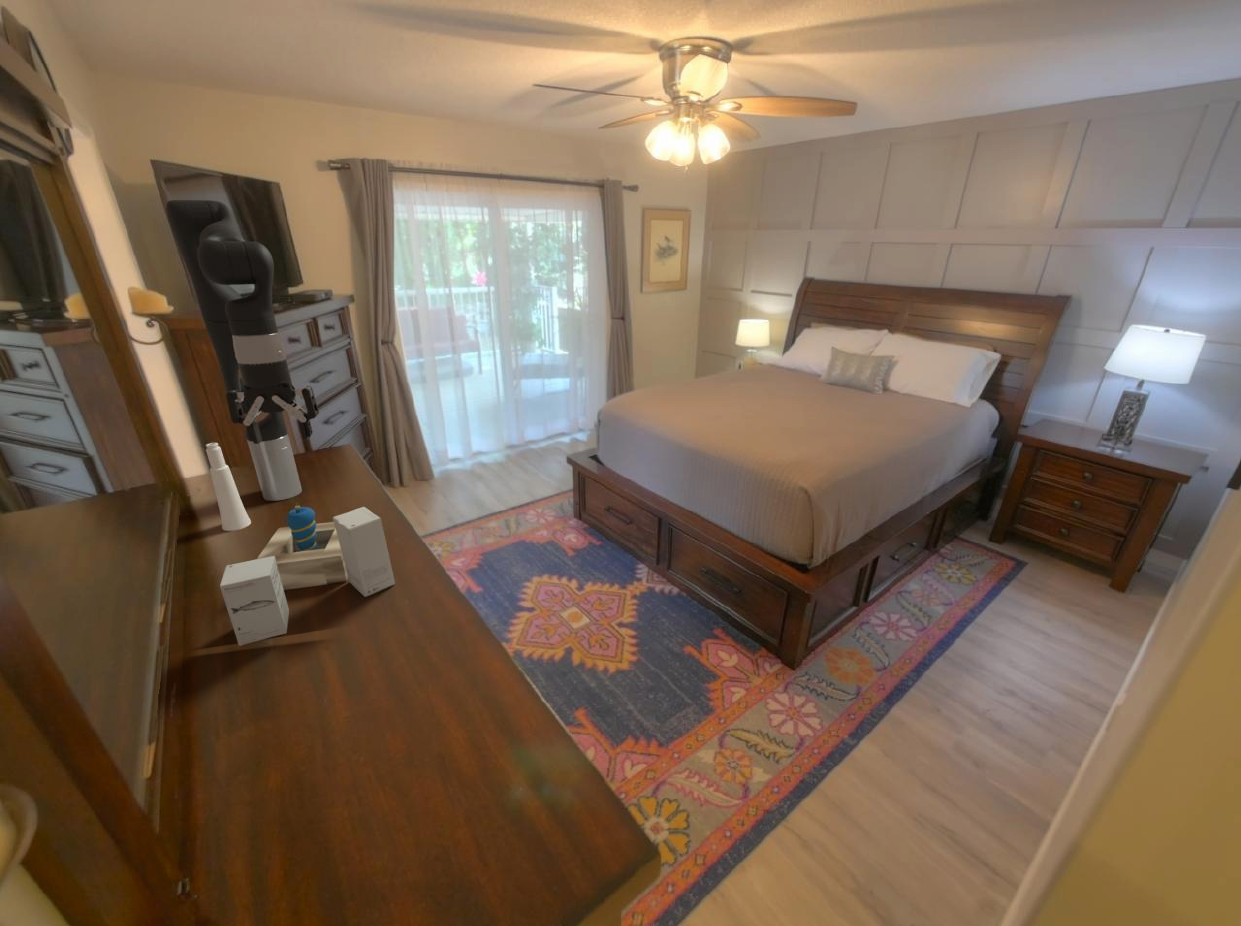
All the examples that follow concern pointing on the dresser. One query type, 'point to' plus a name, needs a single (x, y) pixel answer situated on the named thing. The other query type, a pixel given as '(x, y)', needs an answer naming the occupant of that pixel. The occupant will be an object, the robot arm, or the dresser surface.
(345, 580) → the socket block
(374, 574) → the skincare box
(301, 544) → the ornament
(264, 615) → the supplement box
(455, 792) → the dresser surface
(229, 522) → the cosmetic bottle
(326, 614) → the dresser surface
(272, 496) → the robot arm
